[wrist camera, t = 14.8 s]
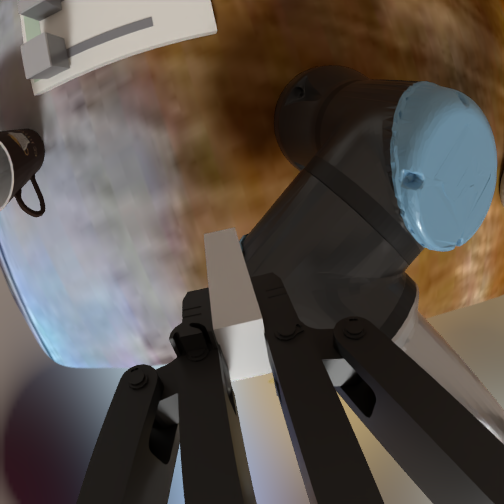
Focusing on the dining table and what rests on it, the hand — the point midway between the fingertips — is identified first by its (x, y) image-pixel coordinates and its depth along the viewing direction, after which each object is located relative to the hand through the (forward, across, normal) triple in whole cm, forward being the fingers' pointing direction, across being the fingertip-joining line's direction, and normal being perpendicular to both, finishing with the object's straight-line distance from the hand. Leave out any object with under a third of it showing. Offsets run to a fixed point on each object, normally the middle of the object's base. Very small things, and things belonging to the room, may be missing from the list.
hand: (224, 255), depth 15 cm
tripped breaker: (+20, +14, -25) cm, 35 cm away
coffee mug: (+23, +23, -6) cm, 33 cm away
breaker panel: (+23, +8, -22) cm, 32 cm away
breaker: (+21, +14, -17) cm, 30 cm away
